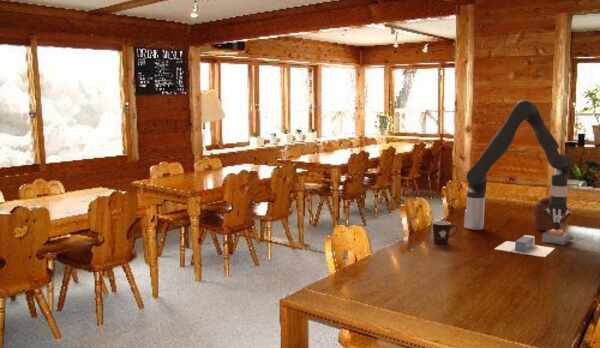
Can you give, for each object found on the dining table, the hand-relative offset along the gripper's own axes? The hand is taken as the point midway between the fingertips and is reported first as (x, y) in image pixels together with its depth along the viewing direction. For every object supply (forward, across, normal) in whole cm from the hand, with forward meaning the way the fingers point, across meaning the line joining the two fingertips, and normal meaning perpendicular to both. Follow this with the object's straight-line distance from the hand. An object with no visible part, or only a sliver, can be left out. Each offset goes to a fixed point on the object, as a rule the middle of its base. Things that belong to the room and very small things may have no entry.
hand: (556, 229), depth 268 cm
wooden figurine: (+6, +10, -22) cm, 25 cm away
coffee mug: (+6, +42, +37) cm, 56 cm away
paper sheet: (+6, +8, +24) cm, 26 cm away
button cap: (+3, 0, 0) cm, 3 cm away
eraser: (+5, +8, +24) cm, 26 cm away
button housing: (+6, 0, 0) cm, 6 cm away
